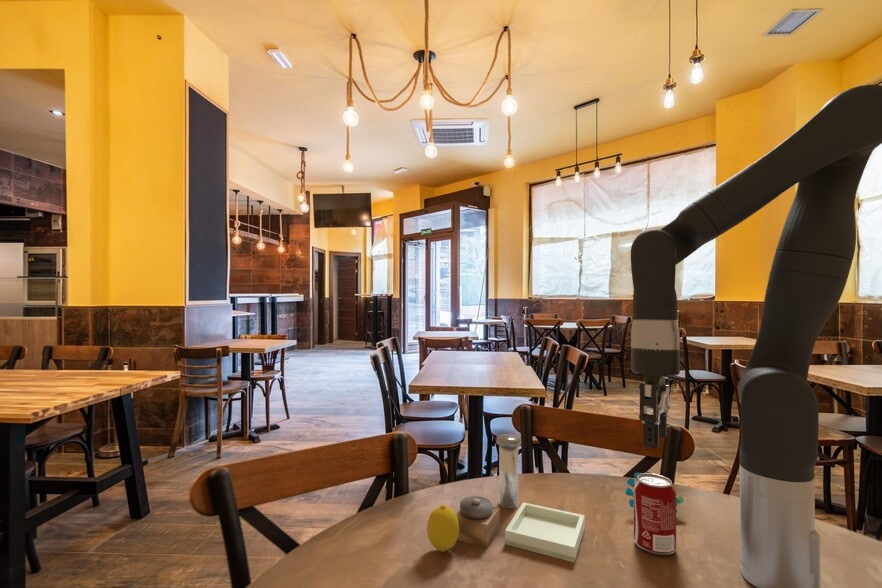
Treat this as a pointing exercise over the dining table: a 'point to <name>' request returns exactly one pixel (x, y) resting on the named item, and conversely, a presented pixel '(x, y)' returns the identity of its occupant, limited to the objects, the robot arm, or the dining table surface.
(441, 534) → the lemon
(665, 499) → the soda can
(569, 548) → the tray
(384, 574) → the dining table surface
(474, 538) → the pulley stand
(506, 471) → the pin
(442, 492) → the dining table surface
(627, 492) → the gear
